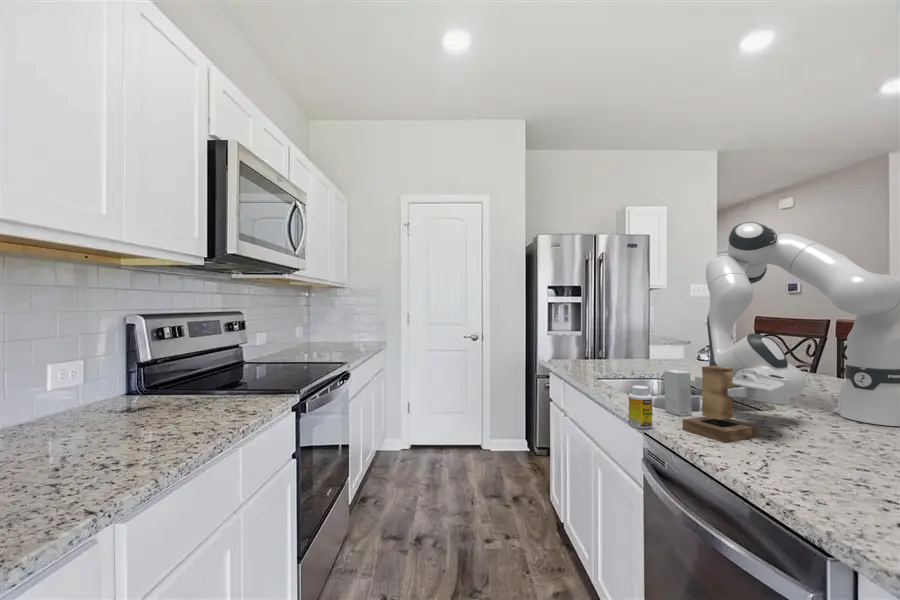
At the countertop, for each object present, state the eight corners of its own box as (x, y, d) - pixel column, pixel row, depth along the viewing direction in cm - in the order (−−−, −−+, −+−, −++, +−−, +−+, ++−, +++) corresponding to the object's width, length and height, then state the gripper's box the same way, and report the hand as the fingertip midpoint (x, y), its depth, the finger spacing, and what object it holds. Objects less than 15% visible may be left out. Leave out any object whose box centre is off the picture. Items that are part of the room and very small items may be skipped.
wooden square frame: (714, 424, 115) (714, 415, 115) (759, 436, 104) (758, 426, 105) (682, 429, 111) (682, 419, 111) (725, 442, 100) (725, 431, 100)
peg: (715, 413, 111) (715, 365, 111) (733, 417, 107) (732, 368, 107) (702, 415, 109) (701, 366, 109) (719, 420, 105) (719, 369, 105)
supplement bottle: (644, 431, 110) (643, 389, 110) (624, 425, 115) (623, 386, 115) (657, 427, 113) (656, 387, 113) (637, 422, 118) (636, 384, 118)
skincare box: (692, 415, 124) (692, 372, 124) (678, 416, 123) (678, 373, 124) (676, 410, 130) (676, 369, 130) (663, 411, 129) (663, 369, 130)
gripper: (715, 367, 123) (678, 371, 117) (796, 380, 104) (756, 384, 98) (715, 390, 123) (678, 394, 117) (796, 407, 104) (757, 412, 98)
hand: (714, 390), depth 108 cm, fingers closed on peg, 4 cm apart
